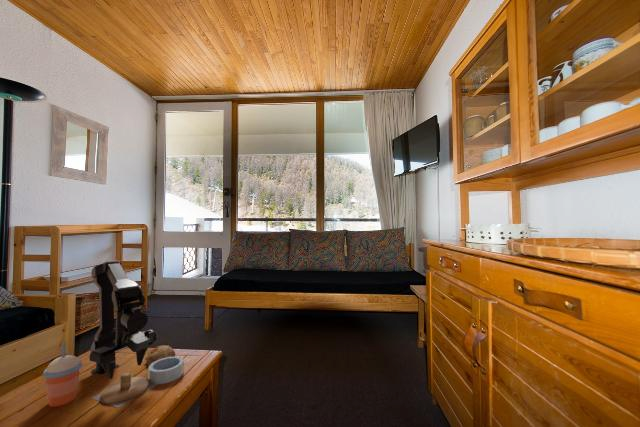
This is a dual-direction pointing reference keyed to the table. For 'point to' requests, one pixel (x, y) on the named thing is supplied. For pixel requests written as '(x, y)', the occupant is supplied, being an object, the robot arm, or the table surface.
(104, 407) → the table surface
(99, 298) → the robot arm
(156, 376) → the bowl
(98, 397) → the mat
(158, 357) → the bread roll
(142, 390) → the lid
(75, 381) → the cup with straw
